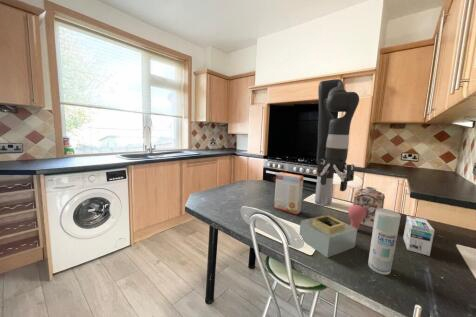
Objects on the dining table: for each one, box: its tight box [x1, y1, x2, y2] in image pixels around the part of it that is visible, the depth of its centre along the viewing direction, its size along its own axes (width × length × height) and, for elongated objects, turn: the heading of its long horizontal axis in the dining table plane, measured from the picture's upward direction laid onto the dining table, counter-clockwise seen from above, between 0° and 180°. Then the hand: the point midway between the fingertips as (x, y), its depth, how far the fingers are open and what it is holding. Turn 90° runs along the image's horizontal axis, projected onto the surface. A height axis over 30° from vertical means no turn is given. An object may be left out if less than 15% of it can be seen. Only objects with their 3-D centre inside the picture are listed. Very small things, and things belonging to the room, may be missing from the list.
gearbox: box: [299, 214, 358, 258], centre depth 80 cm, size 16×14×9 cm
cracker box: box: [273, 171, 304, 216], centre depth 110 cm, size 14×6×21 cm, turn 50°
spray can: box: [367, 208, 402, 276], centre depth 65 cm, size 6×6×20 cm
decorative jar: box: [352, 186, 386, 229], centre depth 99 cm, size 12×12×18 cm
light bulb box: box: [402, 215, 435, 257], centre depth 79 cm, size 11×7×11 cm, turn 148°
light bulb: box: [347, 204, 366, 231], centre depth 91 cm, size 7×7×12 cm
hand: (332, 187), depth 77 cm, fingers open, 8 cm apart
